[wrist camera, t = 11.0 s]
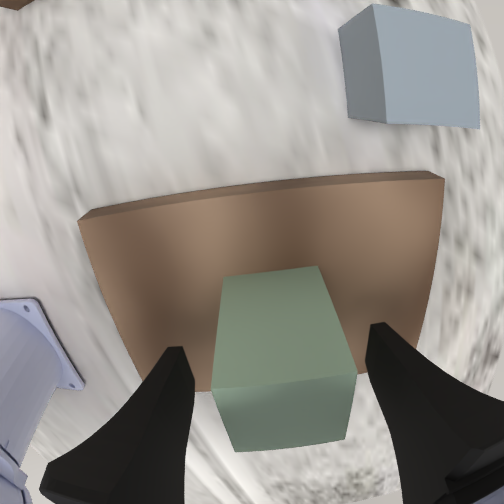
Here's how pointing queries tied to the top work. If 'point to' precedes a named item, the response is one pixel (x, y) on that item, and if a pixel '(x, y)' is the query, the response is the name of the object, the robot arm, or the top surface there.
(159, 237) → the walnut board
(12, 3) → the walnut block
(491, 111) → the top surface
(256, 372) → the sage block
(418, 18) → the slate block
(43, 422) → the top surface
